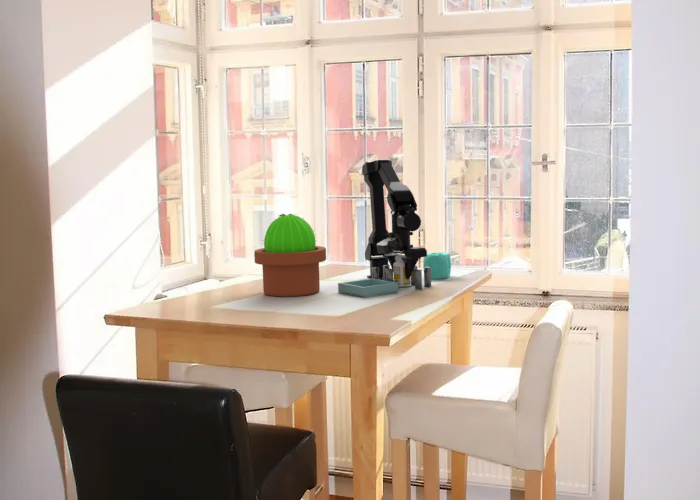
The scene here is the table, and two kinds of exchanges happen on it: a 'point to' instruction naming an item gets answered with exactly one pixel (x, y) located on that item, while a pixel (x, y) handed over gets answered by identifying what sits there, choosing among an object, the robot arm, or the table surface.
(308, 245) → the potted cactus
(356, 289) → the teal tray
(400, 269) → the supplement bottle
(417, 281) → the spacer field
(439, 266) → the decorative dice
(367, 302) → the table surface
